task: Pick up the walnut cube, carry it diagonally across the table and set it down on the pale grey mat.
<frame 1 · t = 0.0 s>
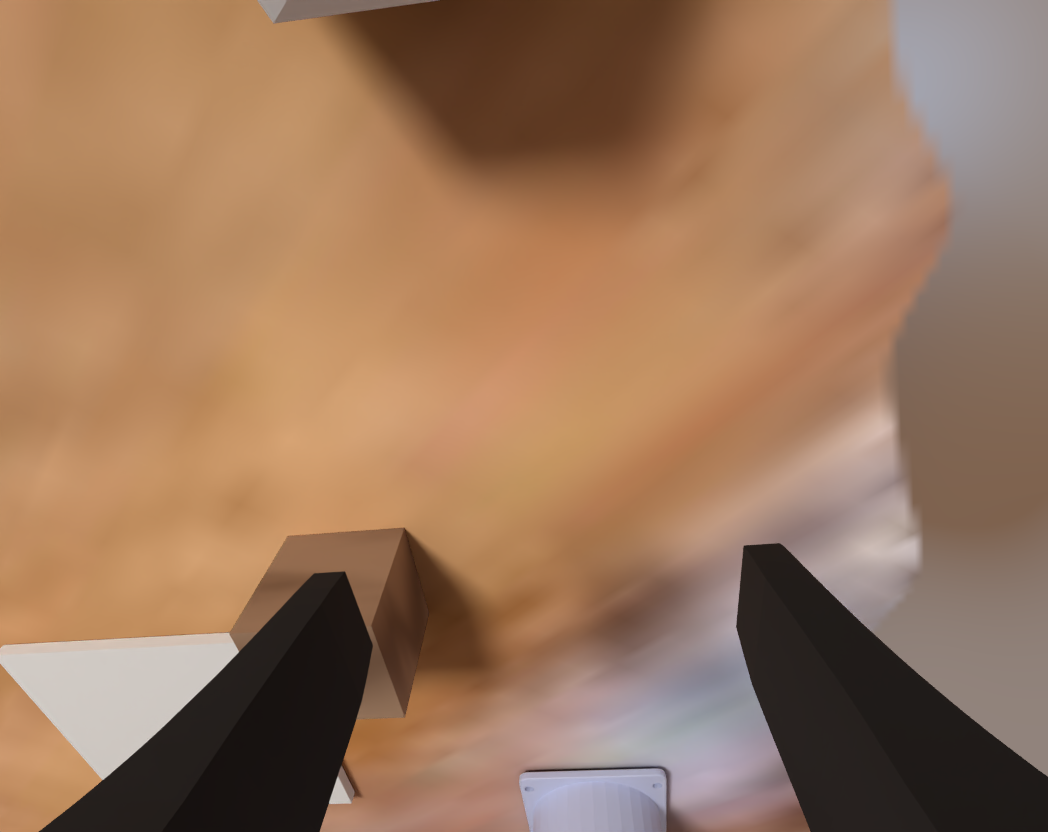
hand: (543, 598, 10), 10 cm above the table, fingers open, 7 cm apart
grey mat: (195, 725, 30), on the table
walnut cube: (361, 574, 24), on the table
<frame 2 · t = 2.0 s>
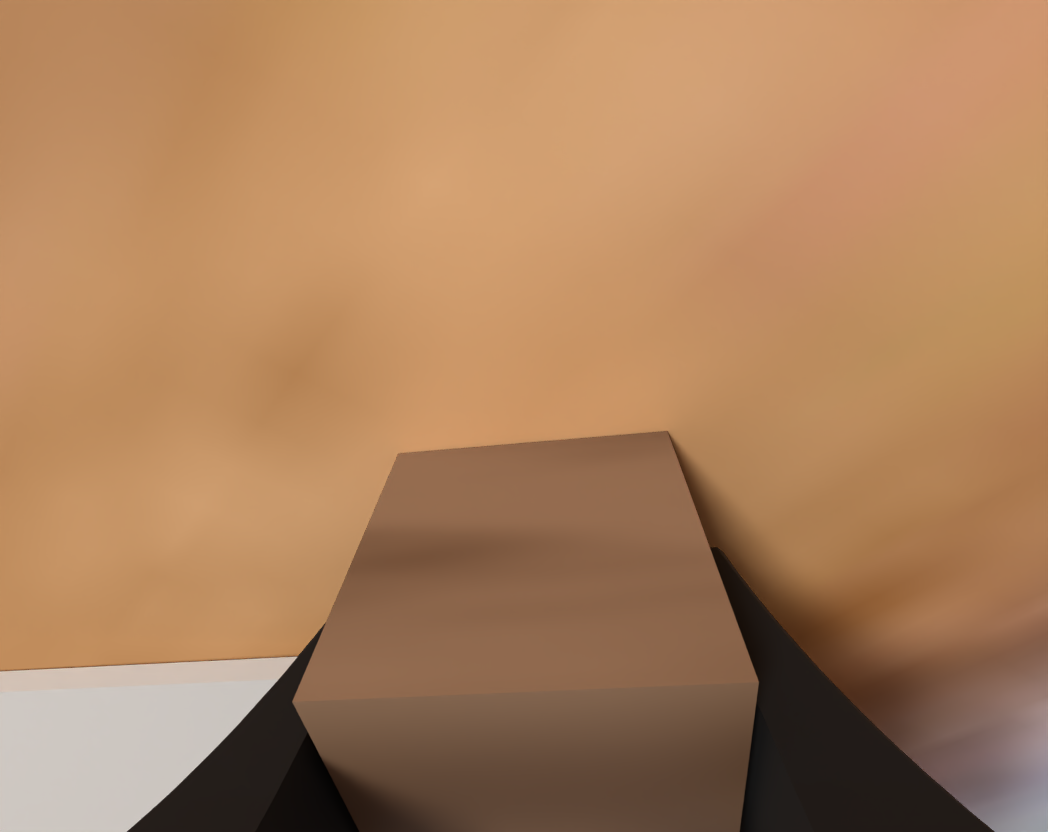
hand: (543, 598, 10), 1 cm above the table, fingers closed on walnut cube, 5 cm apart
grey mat: (194, 813, 17), on the table
walnut cube: (543, 545, 11), on the table, touching gripper
when the fingers open (4 cm above the table, at t = 6.2 s): walnut cube drops 1 cm, resting on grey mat.
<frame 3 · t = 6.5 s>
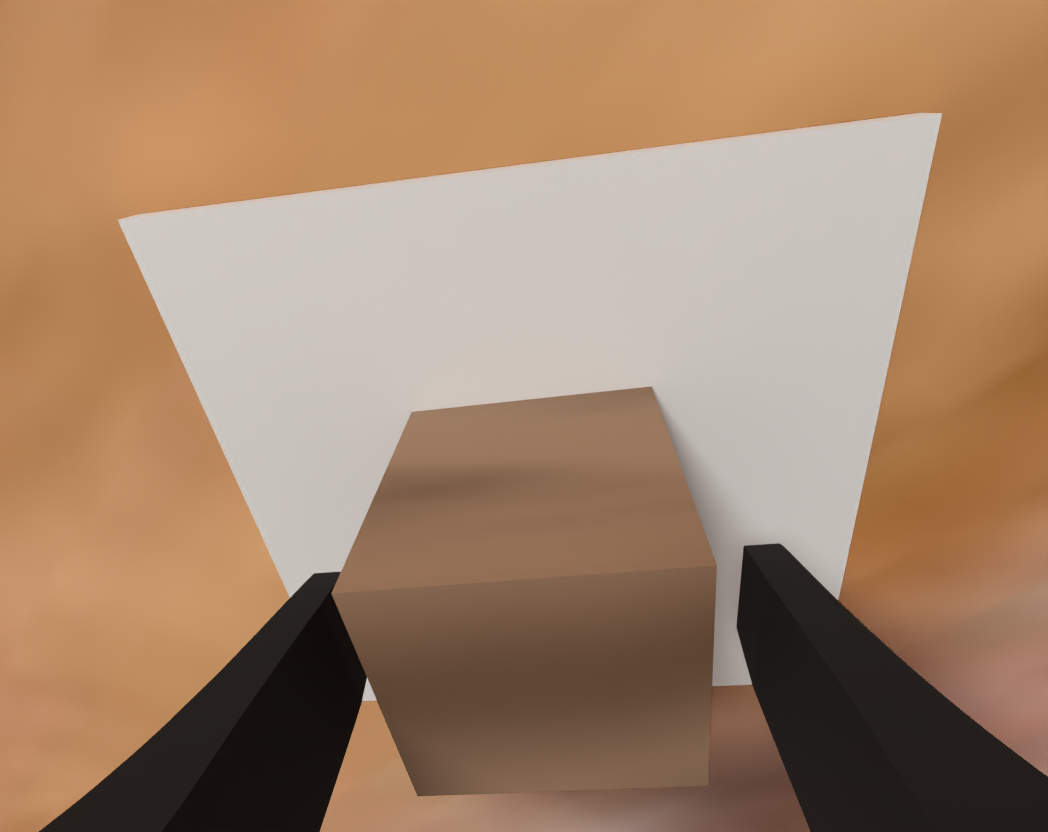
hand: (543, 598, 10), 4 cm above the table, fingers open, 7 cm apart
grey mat: (544, 484, 13), on the table
walnut cube: (543, 495, 13), point 1 cm above the table, touching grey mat
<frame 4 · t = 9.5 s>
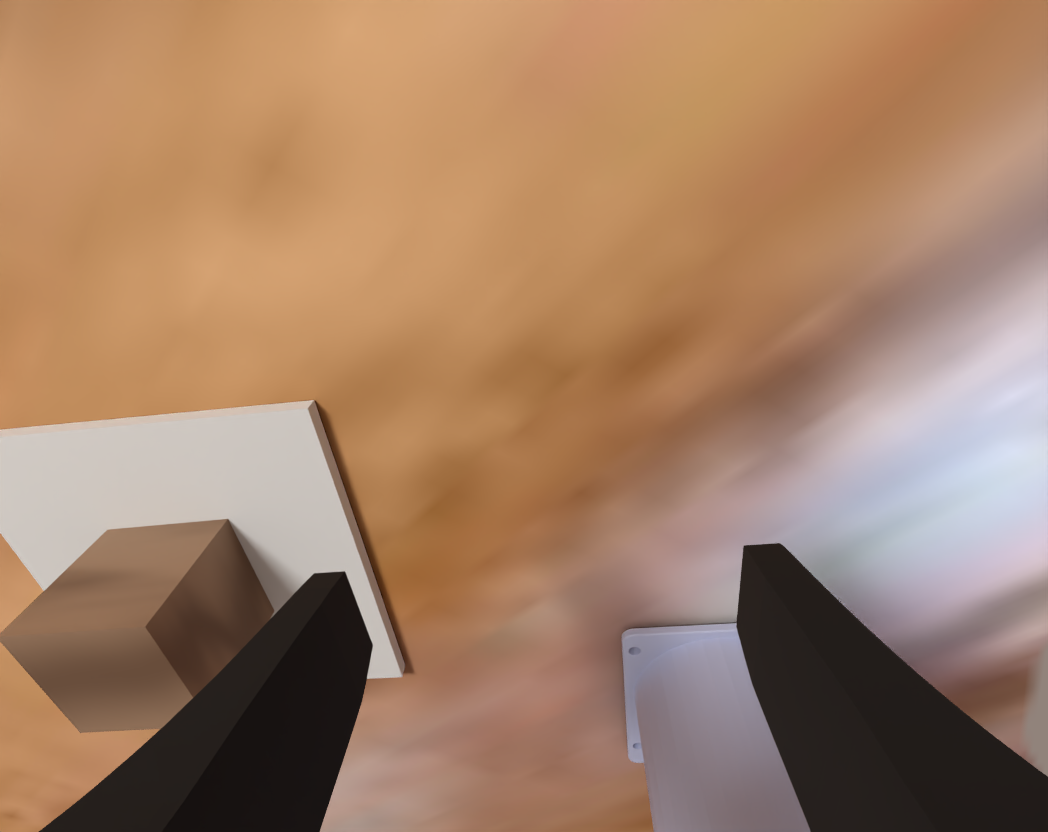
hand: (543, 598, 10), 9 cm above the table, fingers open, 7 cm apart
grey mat: (203, 563, 23), on the table
walnut cube: (194, 571, 23), point 1 cm above the table, touching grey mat
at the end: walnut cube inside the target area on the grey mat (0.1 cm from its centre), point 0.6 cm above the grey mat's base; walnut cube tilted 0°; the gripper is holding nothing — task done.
